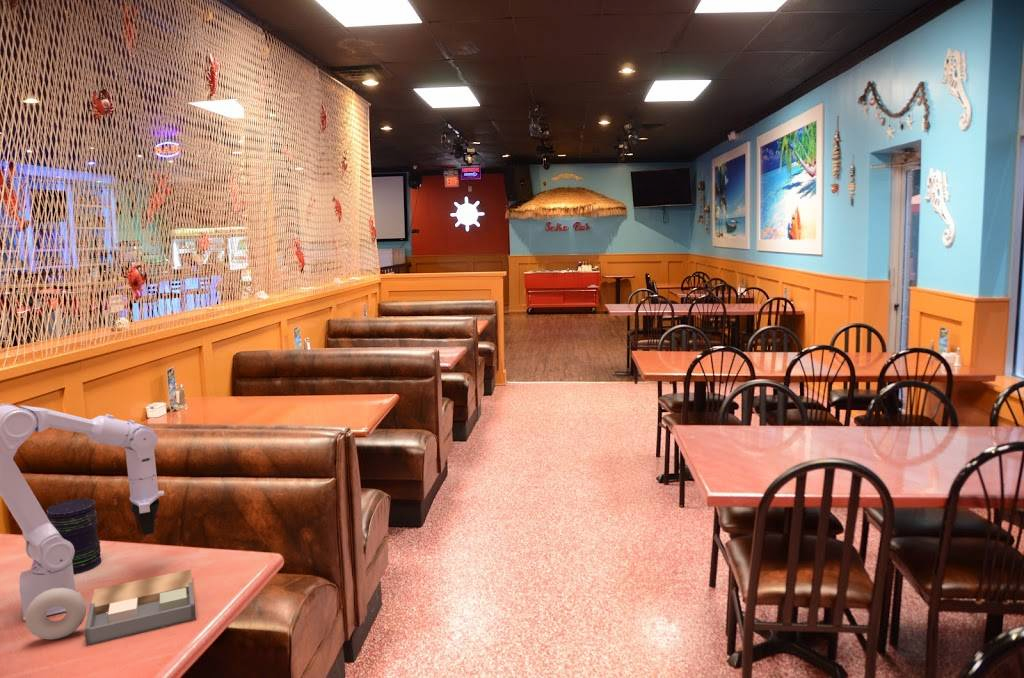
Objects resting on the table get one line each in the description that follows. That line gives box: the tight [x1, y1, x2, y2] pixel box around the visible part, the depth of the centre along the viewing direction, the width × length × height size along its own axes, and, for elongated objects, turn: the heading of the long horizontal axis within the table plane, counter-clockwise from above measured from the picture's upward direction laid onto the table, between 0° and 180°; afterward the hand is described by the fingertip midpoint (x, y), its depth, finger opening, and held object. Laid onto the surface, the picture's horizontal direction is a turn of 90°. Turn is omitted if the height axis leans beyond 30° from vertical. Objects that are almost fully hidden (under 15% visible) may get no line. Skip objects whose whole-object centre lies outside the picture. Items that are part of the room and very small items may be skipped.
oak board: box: [91, 569, 193, 615], centre depth 153 cm, size 19×9×2 cm, turn 116°
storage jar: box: [46, 498, 102, 575], centre depth 168 cm, size 10×10×15 cm
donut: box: [24, 588, 87, 641], centre depth 137 cm, size 10×4×10 cm, turn 117°
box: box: [84, 581, 197, 646], centre depth 143 cm, size 19×12×3 cm, turn 116°
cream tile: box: [108, 598, 138, 623], centre depth 144 cm, size 5×5×2 cm
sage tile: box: [160, 588, 187, 611], centre depth 148 cm, size 5×5×2 cm
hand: (148, 533), depth 164 cm, fingers closed
